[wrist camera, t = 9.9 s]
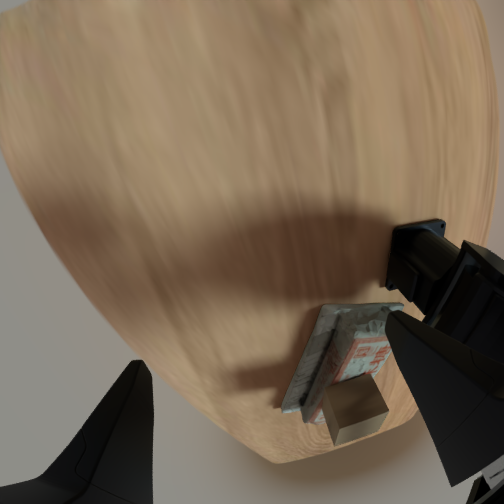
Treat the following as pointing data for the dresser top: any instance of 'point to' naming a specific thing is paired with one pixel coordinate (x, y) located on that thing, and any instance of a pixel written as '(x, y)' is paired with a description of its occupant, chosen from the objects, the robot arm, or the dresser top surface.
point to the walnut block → (353, 409)
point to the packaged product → (338, 354)
